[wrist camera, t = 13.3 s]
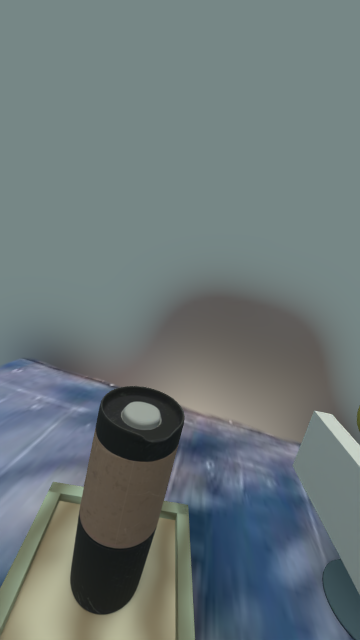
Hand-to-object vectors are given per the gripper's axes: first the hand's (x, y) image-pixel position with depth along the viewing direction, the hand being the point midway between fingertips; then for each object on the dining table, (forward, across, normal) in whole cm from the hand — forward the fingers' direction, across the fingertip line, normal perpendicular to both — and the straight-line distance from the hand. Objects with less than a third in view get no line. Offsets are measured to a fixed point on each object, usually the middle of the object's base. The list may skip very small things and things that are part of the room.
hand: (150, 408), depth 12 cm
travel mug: (+13, 0, -28) cm, 31 cm away
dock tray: (+13, 0, -30) cm, 33 cm away
